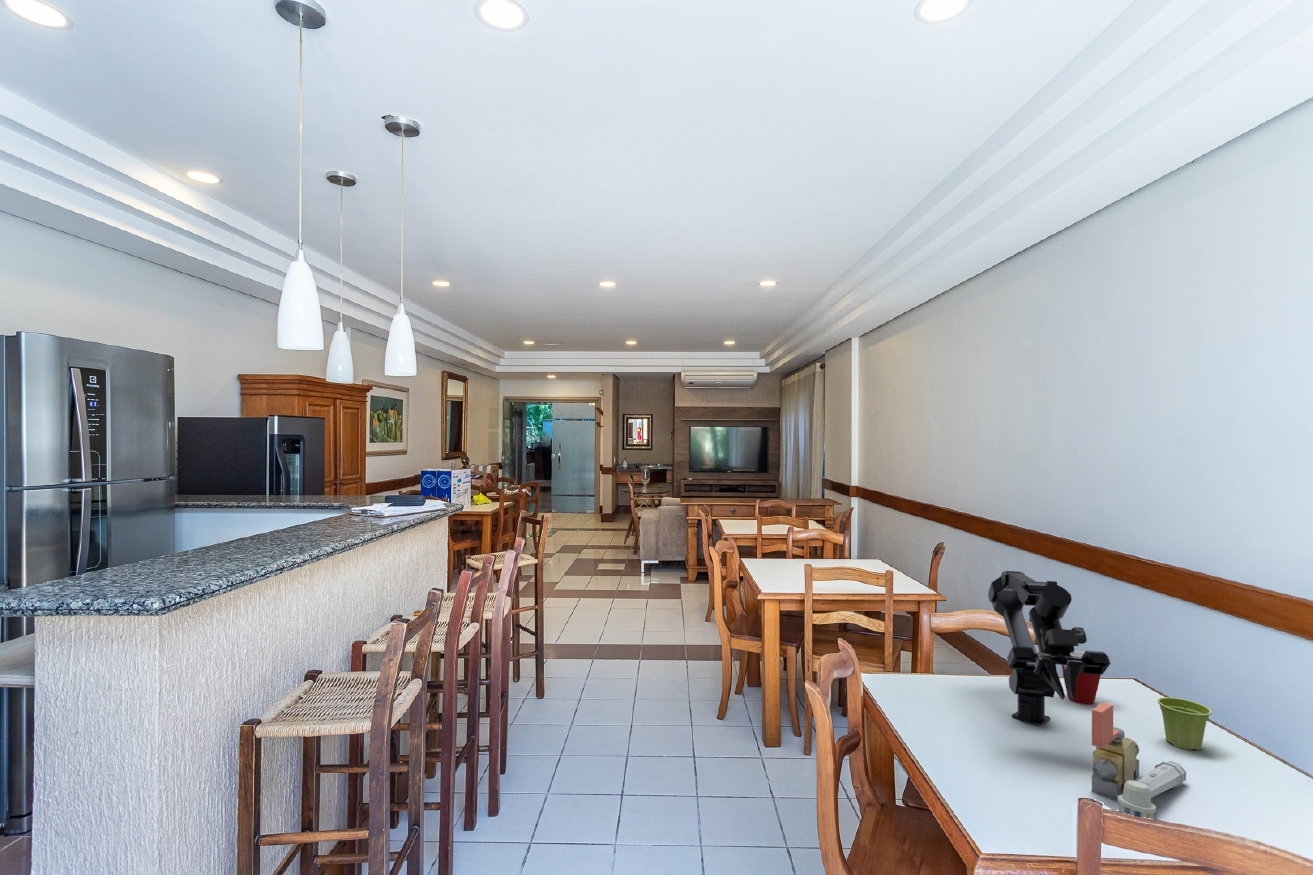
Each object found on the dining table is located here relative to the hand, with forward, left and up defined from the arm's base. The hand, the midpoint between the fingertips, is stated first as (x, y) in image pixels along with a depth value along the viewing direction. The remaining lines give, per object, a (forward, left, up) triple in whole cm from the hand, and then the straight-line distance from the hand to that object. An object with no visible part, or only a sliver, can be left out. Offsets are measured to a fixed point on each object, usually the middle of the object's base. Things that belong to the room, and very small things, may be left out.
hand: (1068, 698), depth 134 cm
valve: (+3, +9, -13) cm, 16 cm away
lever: (+7, +9, -4) cm, 12 cm away
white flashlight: (+4, +15, -14) cm, 21 cm away
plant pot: (-30, +14, -13) cm, 35 cm away
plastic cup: (-41, -9, -13) cm, 44 cm away
